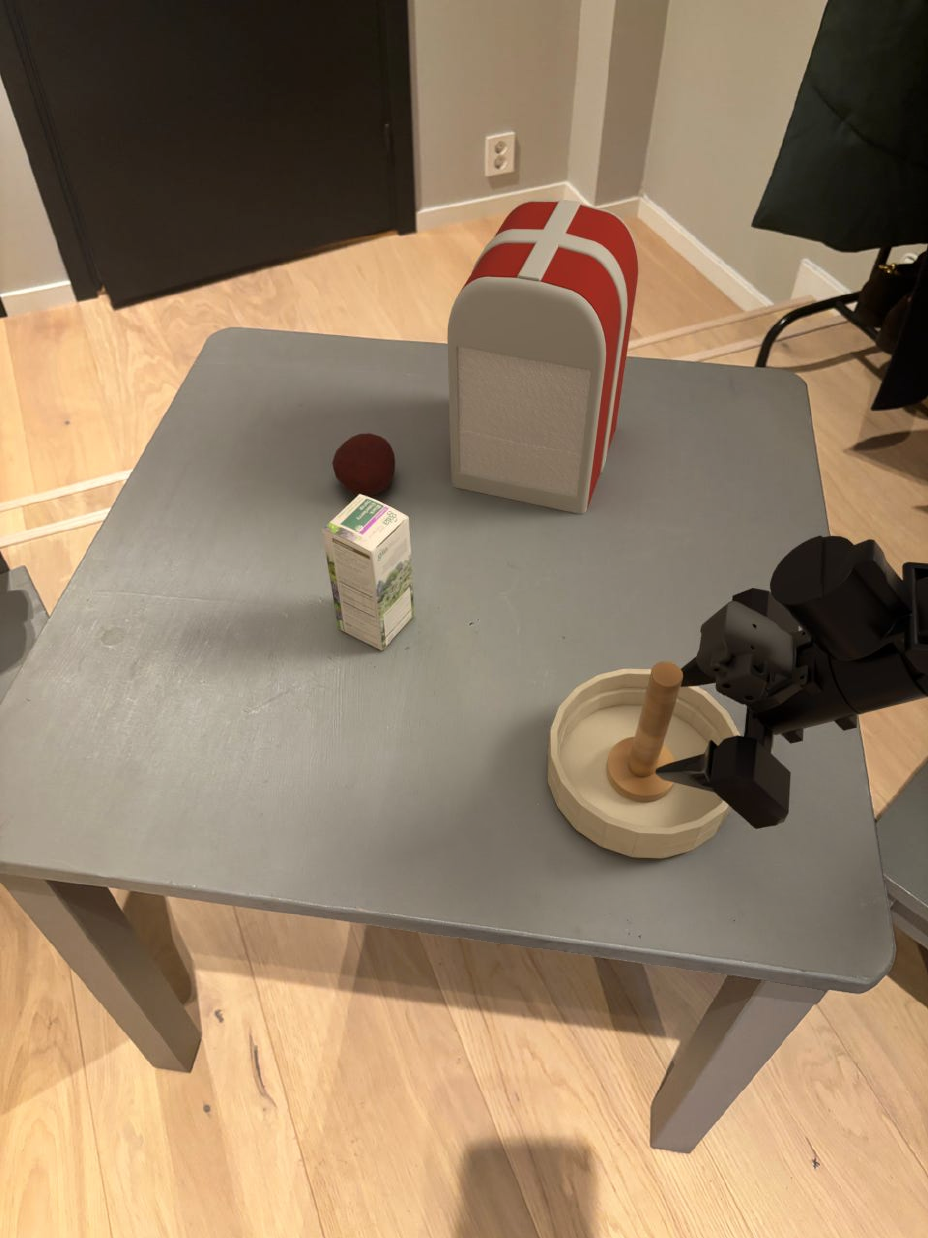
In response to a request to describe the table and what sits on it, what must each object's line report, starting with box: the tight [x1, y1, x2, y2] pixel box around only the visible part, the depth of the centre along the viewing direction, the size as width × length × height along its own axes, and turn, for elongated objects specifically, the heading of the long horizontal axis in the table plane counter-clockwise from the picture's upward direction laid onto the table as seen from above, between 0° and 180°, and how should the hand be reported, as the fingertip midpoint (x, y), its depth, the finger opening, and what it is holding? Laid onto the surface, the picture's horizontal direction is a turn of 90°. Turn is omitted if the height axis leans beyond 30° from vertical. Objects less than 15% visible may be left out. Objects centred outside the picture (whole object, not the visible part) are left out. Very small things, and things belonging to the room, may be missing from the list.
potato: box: [331, 432, 396, 497], centre depth 103 cm, size 7×8×6 cm
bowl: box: [546, 668, 742, 859], centre depth 78 cm, size 16×16×5 cm
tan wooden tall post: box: [606, 660, 683, 802], centre depth 74 cm, size 6×6×15 cm
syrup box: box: [321, 494, 415, 652], centre depth 86 cm, size 6×6×14 cm
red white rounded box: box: [446, 198, 640, 515], centre depth 98 cm, size 17×18×27 cm
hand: (666, 726), depth 73 cm, fingers open, 9 cm apart
